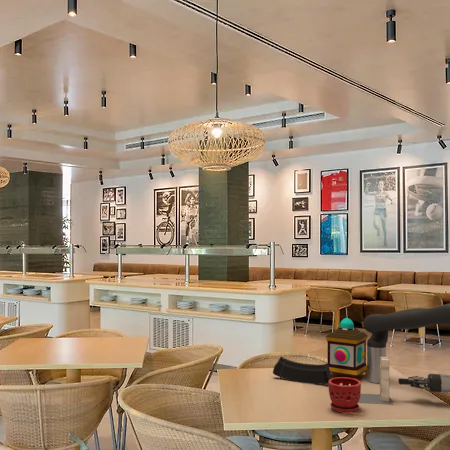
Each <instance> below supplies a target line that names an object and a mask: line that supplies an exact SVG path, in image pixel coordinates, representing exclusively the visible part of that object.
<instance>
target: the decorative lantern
mask: <svg viewBox="0 0 450 450" xmlns="http://www.w3.org/2000/svg"><path fill="white" fill-rule="evenodd" d="M356 327H357V326H354V322H353V320H352V319H350V318H348V317H345V318H343V319H342V320H341V321H340V324H339V326H338V327H337V328H336V329H335V330H334V331H331V332H329V333H328V334H327V335H326V336H325V339H326V342H327V360H326V361H327V364H328V367H329V369H330V373H331V374H338V375H344V376H349V377H352V378H354V379H357V380H359V376H360V375H362V374H364V375H365V376H366V377H367V340H368V339H369V335H367V334H366V333H365V332H364V331H360V330H359V329H358V328H356Z"/></svg>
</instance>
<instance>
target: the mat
mask: <svg viewBox="0 0 450 450" xmlns="http://www.w3.org/2000/svg"><path fill="white" fill-rule="evenodd" d="M393 402H394V401H393V400H392V398H391V396H389V402H382V401H381V399H380V393H379V394H377V393H361V395H360V399H359V402H358V404H368V405H369V404H371V405H387V406H388V405H389V406H391V405H392V406H394V403H393Z"/></svg>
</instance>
